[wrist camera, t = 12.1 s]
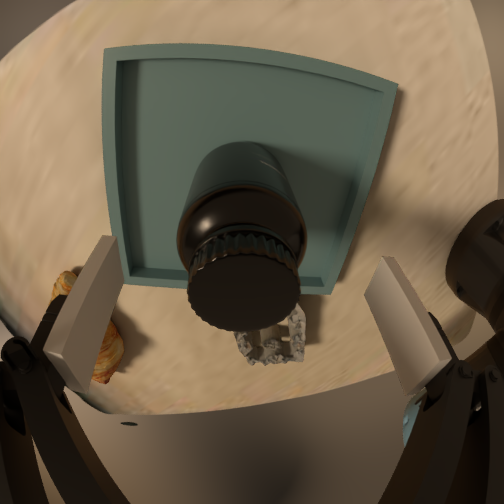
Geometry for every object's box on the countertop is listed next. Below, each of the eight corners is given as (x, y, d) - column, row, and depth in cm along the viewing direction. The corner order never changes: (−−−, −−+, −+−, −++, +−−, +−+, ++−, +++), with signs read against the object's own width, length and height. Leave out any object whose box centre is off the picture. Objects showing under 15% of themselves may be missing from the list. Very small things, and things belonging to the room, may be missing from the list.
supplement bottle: (293, 147, 20) (353, 243, 10) (272, 225, 24) (299, 349, 14) (199, 132, 19) (164, 218, 9) (189, 214, 23) (164, 339, 13)
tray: (383, 80, 18) (398, 83, 16) (325, 279, 29) (330, 294, 28) (115, 49, 15) (104, 48, 13) (127, 268, 27) (121, 283, 25)
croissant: (62, 242, 28) (10, 277, 22) (117, 276, 26) (58, 325, 19) (97, 350, 40) (66, 381, 34) (143, 383, 38) (112, 420, 31)
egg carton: (227, 290, 30) (227, 320, 26) (300, 280, 30) (308, 309, 26) (242, 348, 36) (243, 375, 33) (300, 340, 36) (305, 366, 33)
